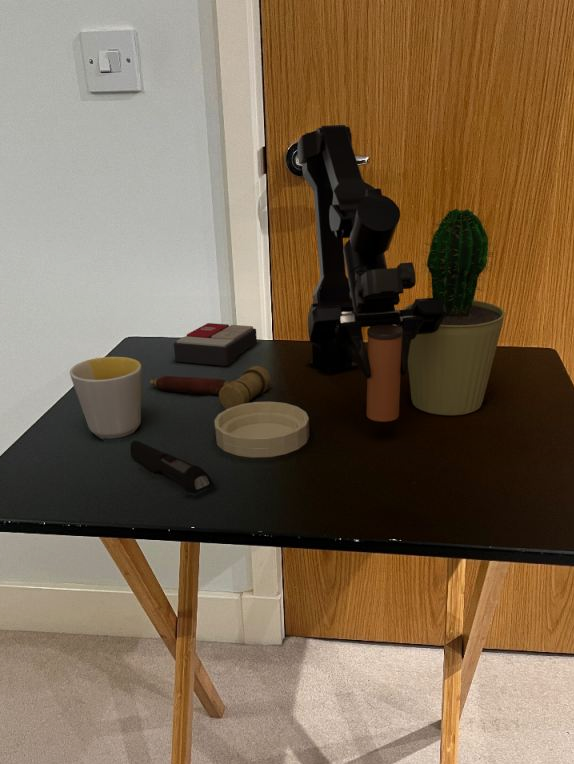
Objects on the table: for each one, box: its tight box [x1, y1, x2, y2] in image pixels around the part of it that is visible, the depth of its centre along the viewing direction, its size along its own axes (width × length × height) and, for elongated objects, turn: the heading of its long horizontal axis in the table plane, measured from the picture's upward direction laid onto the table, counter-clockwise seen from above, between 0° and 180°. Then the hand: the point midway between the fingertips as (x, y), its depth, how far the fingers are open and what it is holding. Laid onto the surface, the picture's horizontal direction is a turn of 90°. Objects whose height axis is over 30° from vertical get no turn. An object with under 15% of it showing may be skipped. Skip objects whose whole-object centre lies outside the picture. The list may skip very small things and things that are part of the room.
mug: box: [69, 356, 143, 440], centre depth 115 cm, size 14×10×10 cm
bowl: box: [213, 401, 310, 459], centre depth 111 cm, size 14×14×4 cm
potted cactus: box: [402, 205, 506, 416], centre depth 116 cm, size 15×15×30 cm
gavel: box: [149, 365, 272, 410], centre depth 128 cm, size 21×5×10 cm
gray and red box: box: [173, 322, 258, 367], centre depth 147 cm, size 11×4×15 cm
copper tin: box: [366, 325, 403, 423], centre depth 105 cm, size 5×5×12 cm
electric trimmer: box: [130, 440, 214, 494], centre depth 103 cm, size 4×16×3 cm, turn 45°
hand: (386, 375), depth 104 cm, fingers closed on copper tin, 4 cm apart
